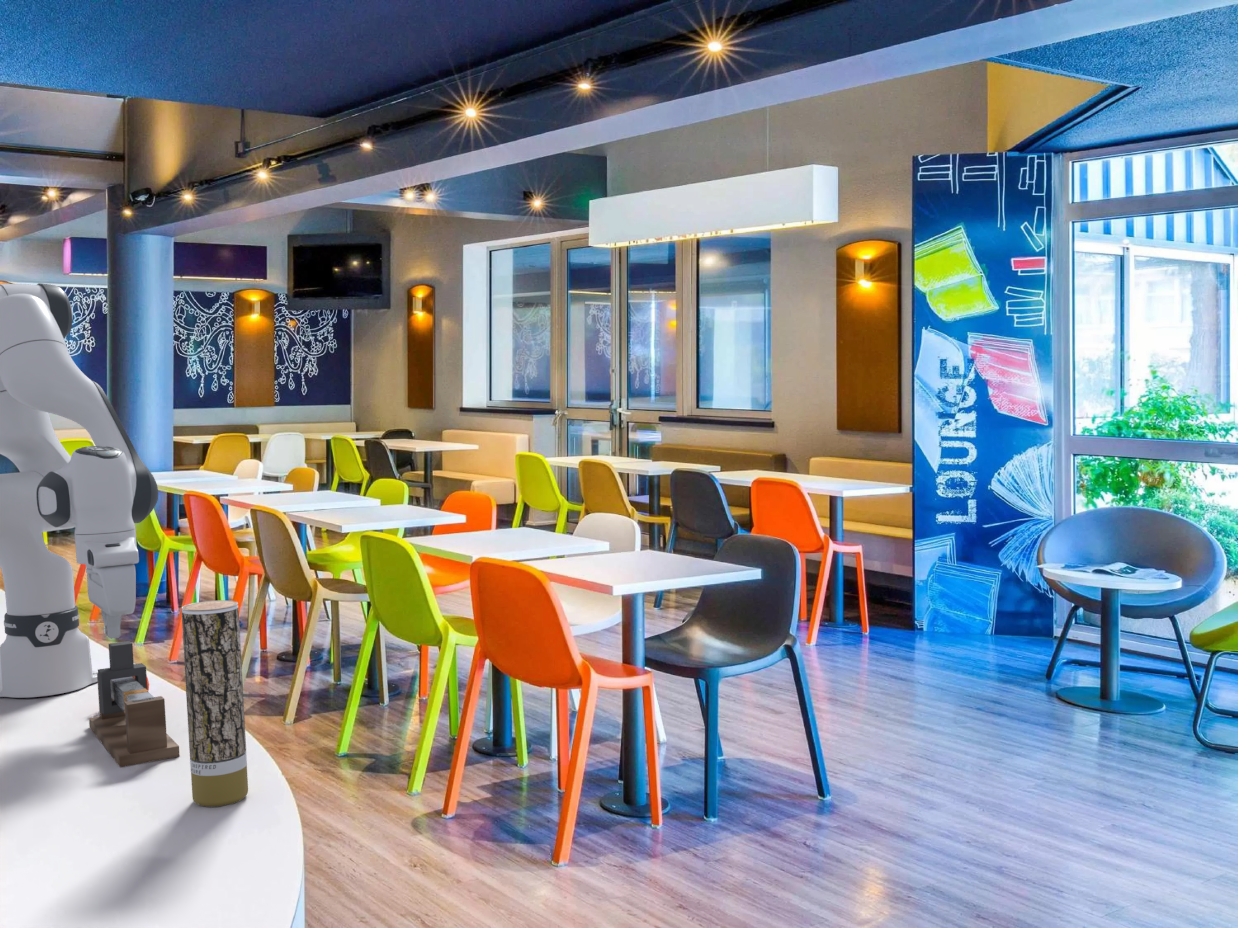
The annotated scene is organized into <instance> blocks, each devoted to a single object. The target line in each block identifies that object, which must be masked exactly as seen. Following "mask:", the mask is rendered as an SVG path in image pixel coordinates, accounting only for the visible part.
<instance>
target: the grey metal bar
mask: <svg viewBox="0 0 1238 928" xmlns="http://www.w3.org/2000/svg"><path fill="white" fill-rule="evenodd" d="M110 683H111V698H112V699H113V700H114V701H115V702H116V703H117V704H118V706H119V707H120V708H121V709H122V710H123V711H124V712H125V704H124V702H127V701H133V702H134V701H135V702H137V701H139V700H140V701H144V700H145V699H146V698H149V699H150V698H151V699H155V698H152V697H154V696H153V695H152V693H150V692H149V690H147V689H145V688H144V687H143V686H142V685H140V684H139V683H138V682H137V681H136V680H135V679H134V678H133V677H125V678H119V679H112V680H110ZM149 699H146V700H149ZM136 700H137V701H136Z"/></svg>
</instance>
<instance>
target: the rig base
mask: <svg viewBox="0 0 1238 928" xmlns="http://www.w3.org/2000/svg"><path fill="white" fill-rule="evenodd" d="M132 677H133V678H134V676H132ZM97 680H98V673H97ZM97 693H98V694H97V695H98V710H99V716H93V717H89V718H88V724H89V725H88V726H89V729H90V730H91V731H92V732H93V734H94V735H95V737H96V738H97V739H98V741H99V742H100V743H101V744H102V746H103V747H104V748H105V750H106V751H107V753H109V755H110V756H111V757H112V758H113V760H114V762H115V763H116V764H117V765H118V767H119V768H125V767H129V766H135V765H140V764H145V763H146V764H147V763H150V762H152V763H153V762H156V761H157V762H158V761H161V760H167V759H172V757H173V758H177V757H180V745H178V744H177V742H176V741H175V740H174V739H173V738H172V737H171V736H170V735H169V734H168V733H167V721H166V720H167V719H166V705H165V703H166V702H165V700H166V699H165V698H164V697H163V696H162V695H160V696H153V697H152V698H155V699H151V698H150V699H149V698H146V699H149V700H146V699H145V700H144V701H140V700H139V701H137V700H136V701H137V702H135V701H134V702H133V701H127V702H124V704H125V712H119V713H113V714H107V715H103V713H102V712H101V711H100V697H99V681H98V682H97ZM111 699H112V698H111ZM112 701H114V700H113V699H112Z"/></svg>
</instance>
